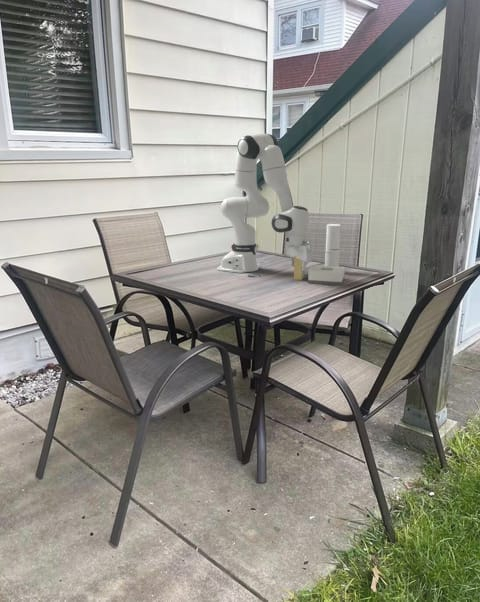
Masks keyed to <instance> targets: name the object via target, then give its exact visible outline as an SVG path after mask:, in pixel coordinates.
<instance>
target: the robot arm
mask: <svg viewBox="0 0 480 602" xmlns="http://www.w3.org/2000/svg"><path fill="white" fill-rule="evenodd" d="M258 160H260V163H261V167H262V173H263V179H264V182H265V184H266V186H268V187H269V188H271V189H272V190H273V191H274V192H275V193H276V195H277V196H278V200H279V204H280V208H281V212H280V213H276V214H275V215H274V216H273V217H272V218H271V227H272V229H273V230H274V232H277V233H279V234H283V233H286V232H288V233H290V235H289V236H286V237H285V242H286V243H285V254H286V256H287V257H290V262H291V266H292V267H294V256H296V258H297V259H299V260H302V263H303V265H302V266H301V269H303V271H306V270H307V265H308V263H310V262H312V261H313V259H314V258H313V256H314V255H313V247H312V245H311V244H310V242H309V237H310V236H309V235H310V233H309V226H310V215H309V210H308V209H307V208H306V207H304V206H301V205H294V203H293V198H292V197H293V196H292V193H291V188H290V184H289V182H288V181H289V180H288V174H287V169H286V163H285V159H284V155H283V152H282V149H281V148H280V146H279V142H278V139H277V138H276V136H274V135H273V134H270V133H257V134H251V135H248V134H247V135H244V136H242V137H240V139H239V140H238V142H237V152H236V157H235V164H234V166H235V167H234V184H235V186H236V187H237V188H238V189H239V190H241V191H243V192H244V193H245V194H246V195H245V196H232V197H227V198H224V199H223V201H222V202H221V203H220V211H221V214H222V216H224V218H226V219H227V220H228V221H229V222H230V223H231V224H232V227H233V230H234V243H233V244H232V245H231V246H230V248H231V250H230V252H228V253H227V254H226V255H225V256H222V259H221V264H220V265H219V266H217V271H220V272H221V271H222V272H228V273H229V272H230V273H238V274H239V273H240V274H242V273H243V274H244V273H250V272H257V271H258V270H259V266H258V261H257V250H258V249H257V243H256V241H257V239H256V229H255V227H254V226H252V225H250V224H249V223H246V222H245V219H249V218H250V219H251V218H252V219H253V218H262V217H265V216H267V214H268V213H269V211H270V204H269V203H270V202H269V201H268V199H267V198H266V197H264V195H262V193H261V192H260V190H259V187H258V181H257V175H258V173H257V172H258V171H257V169H258V168H257V167H258V165H257V164H258Z"/></svg>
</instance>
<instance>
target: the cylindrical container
mask: <svg viewBox="0 0 480 602" xmlns="http://www.w3.org/2000/svg"><path fill="white" fill-rule="evenodd" d="M341 229H342V225H341V224H339V223H338V224H337V223H328V224H326V234H325V235H326V237H325V256H324V257H325V258H324V266H333V267H340V247H341V246H340V245H341V243H340V242H341Z"/></svg>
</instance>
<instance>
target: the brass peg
mask: <svg viewBox="0 0 480 602" xmlns="http://www.w3.org/2000/svg"><path fill="white" fill-rule="evenodd" d="M302 265H303V263H302V260H299V259H297V258H296V256H294V266H293V280H294V281H303V279H304V270H303V269H301V266H302Z"/></svg>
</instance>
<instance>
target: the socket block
mask: <svg viewBox="0 0 480 602" xmlns="http://www.w3.org/2000/svg"><path fill="white" fill-rule="evenodd" d="M345 270H346V267H344V266H339V267H333V266H325V265H314V264H313V265H312V266H311V267H310V268H309V270H308V273H307V274H308V276H307V278H308V279H307V281H308V282H307V283H308V284H318V285H319V284H320V285H321V284H322V285H335V286H342V285H343V283H344V280H345V272H346V271H345Z"/></svg>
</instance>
